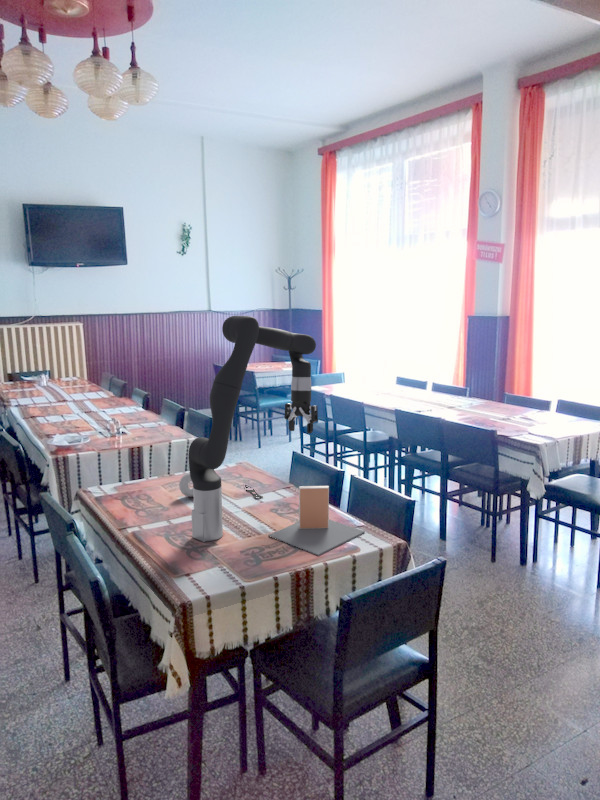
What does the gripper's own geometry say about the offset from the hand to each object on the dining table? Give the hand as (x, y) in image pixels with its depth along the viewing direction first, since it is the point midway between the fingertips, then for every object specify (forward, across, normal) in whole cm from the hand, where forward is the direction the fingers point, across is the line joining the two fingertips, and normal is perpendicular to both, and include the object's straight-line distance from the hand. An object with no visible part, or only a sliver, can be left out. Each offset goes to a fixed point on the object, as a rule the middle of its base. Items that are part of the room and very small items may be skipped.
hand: (300, 432), depth 227 cm
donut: (+28, -39, -19) cm, 52 cm away
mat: (+31, +22, -18) cm, 42 cm away
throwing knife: (+27, -25, 0) cm, 37 cm away
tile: (+30, +18, -14) cm, 38 cm away
